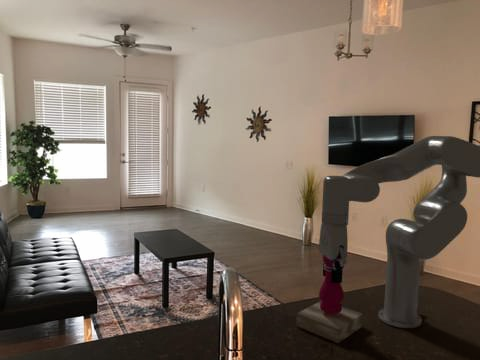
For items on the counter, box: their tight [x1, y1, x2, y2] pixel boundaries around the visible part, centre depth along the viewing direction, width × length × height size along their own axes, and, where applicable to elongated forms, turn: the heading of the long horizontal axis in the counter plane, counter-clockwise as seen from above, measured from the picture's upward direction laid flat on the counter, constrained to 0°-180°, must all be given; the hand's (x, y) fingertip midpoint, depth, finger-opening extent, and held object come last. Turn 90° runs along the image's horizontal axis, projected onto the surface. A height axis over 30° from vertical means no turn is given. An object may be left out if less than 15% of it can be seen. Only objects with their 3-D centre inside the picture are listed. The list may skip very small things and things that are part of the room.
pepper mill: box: [318, 254, 345, 314], centre depth 121 cm, size 7×7×20 cm
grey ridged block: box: [295, 300, 364, 344], centre depth 123 cm, size 14×14×4 cm
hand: (332, 278), depth 122 cm, fingers closed on pepper mill, 5 cm apart
